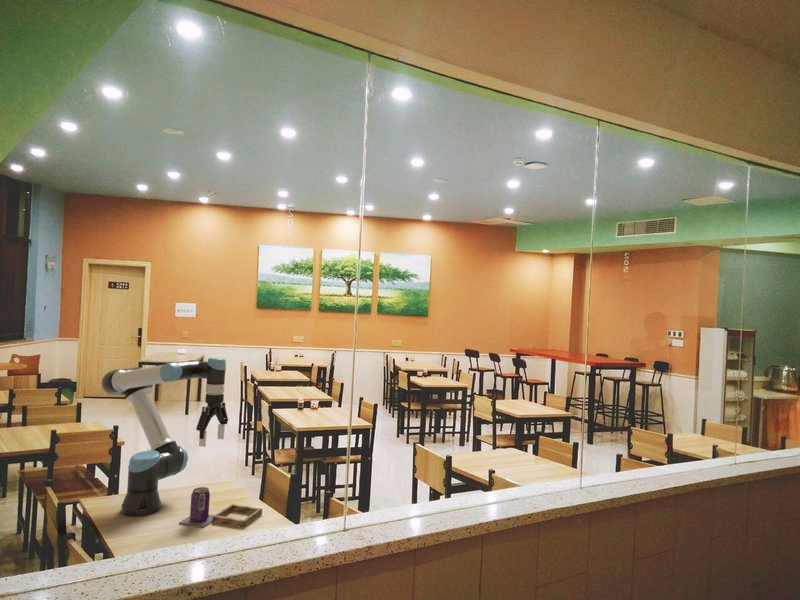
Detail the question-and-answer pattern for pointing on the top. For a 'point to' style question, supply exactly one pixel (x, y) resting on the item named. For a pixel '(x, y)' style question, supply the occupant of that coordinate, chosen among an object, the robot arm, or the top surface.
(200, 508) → the beverage can
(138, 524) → the top surface
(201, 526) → the coaster
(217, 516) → the frame
